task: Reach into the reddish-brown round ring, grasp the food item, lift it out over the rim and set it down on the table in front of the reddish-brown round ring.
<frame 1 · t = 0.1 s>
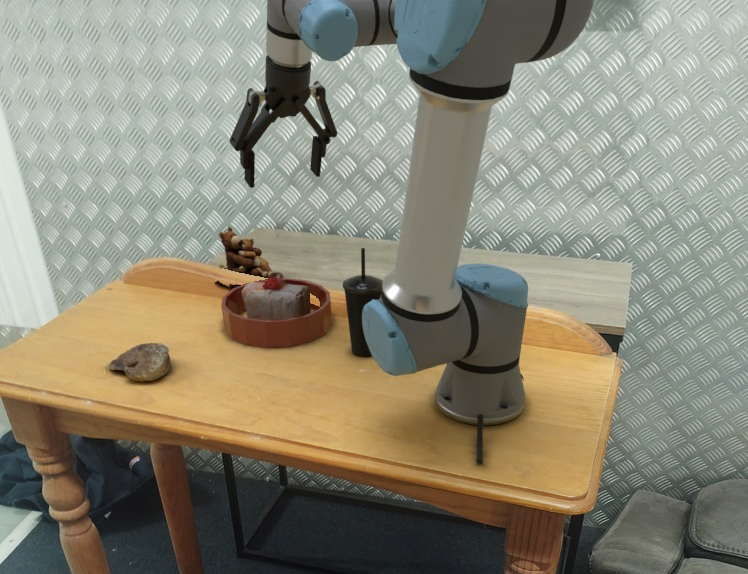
hand: (282, 178, 135), 28 cm above the table, tool tilted 20°, fingers open, 13 cm apart
reddish-brown round ring: (278, 323, 149), on the table
bear figurine: (248, 281, 168), on the table
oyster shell: (140, 371, 134), on the table
food item: (278, 324, 149), resting in reddish-brown round ring
drinking cup: (364, 352, 139), on the table
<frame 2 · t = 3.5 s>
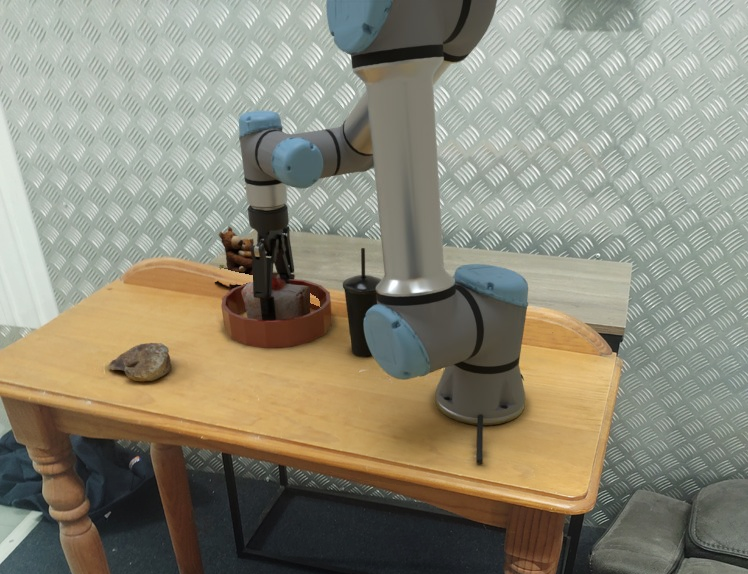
hand: (278, 318, 148), 1 cm above the table, tool pointing down, fingers closed on food item, 8 cm apart
food item: (278, 324, 149), resting in reddish-brown round ring, touching gripper
everything else where it was.
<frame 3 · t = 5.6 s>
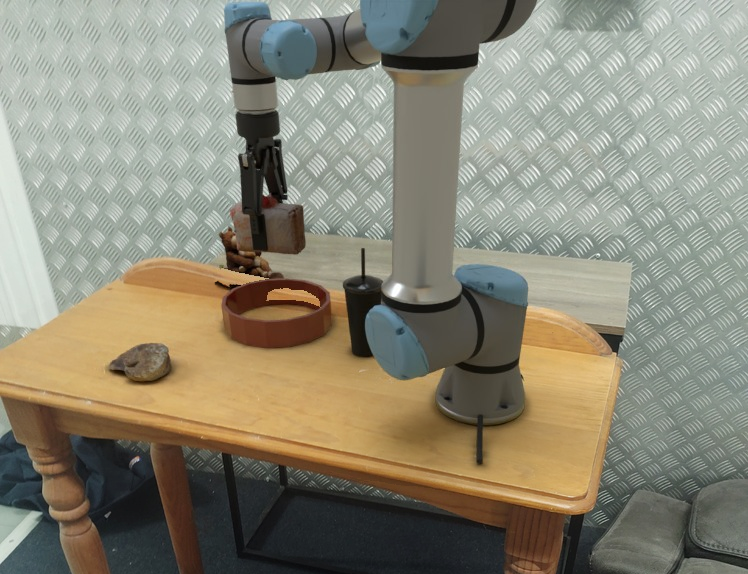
hand: (269, 242, 138), 17 cm above the table, tool pointing down, fingers closed on food item, 8 cm apart
food item: (270, 249, 139), point 16 cm above the table, touching gripper
everything else where it was.
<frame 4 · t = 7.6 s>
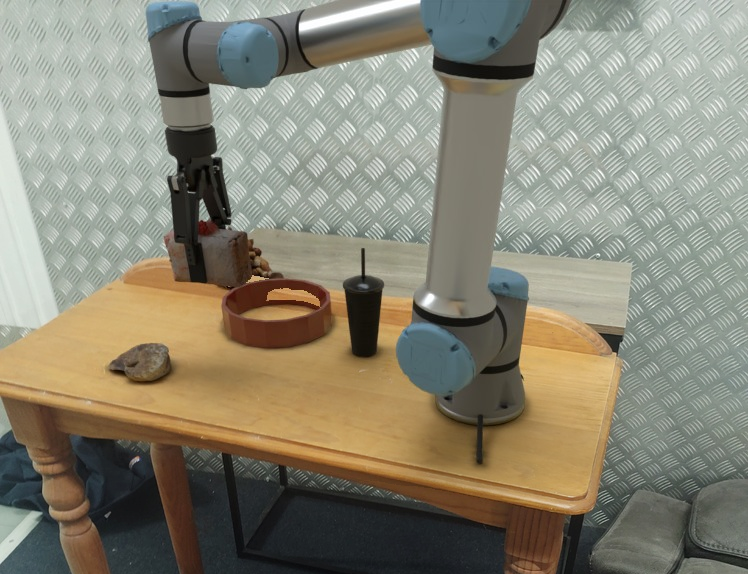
hand: (211, 272, 122), 18 cm above the table, tool pointing down, fingers closed on food item, 8 cm apart
food item: (212, 280, 123), point 17 cm above the table, touching gripper
everything else where it was.
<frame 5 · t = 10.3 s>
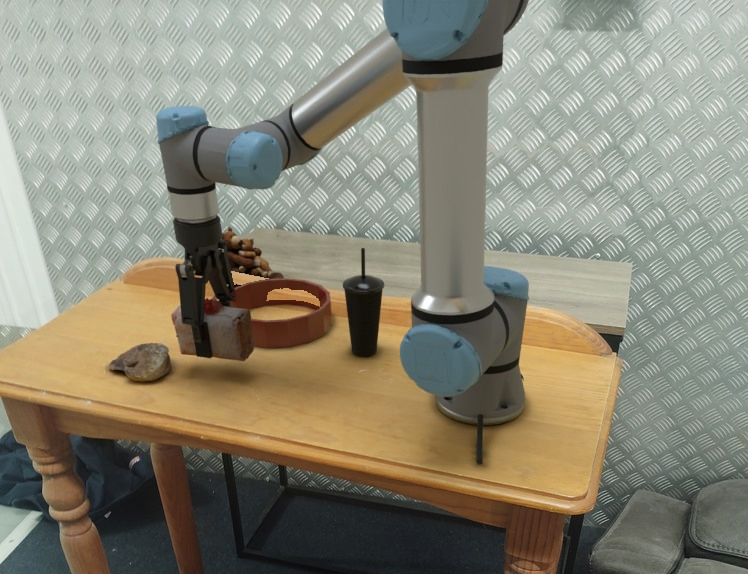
hand: (215, 345, 129), 6 cm above the table, tool pointing down, fingers closed on food item, 8 cm apart
food item: (216, 352, 130), point 4 cm above the table, touching gripper
everything else where it was.
when the fingers open (1 cm above the table, at t = 11.9 s): food item stays where it is, on the table.
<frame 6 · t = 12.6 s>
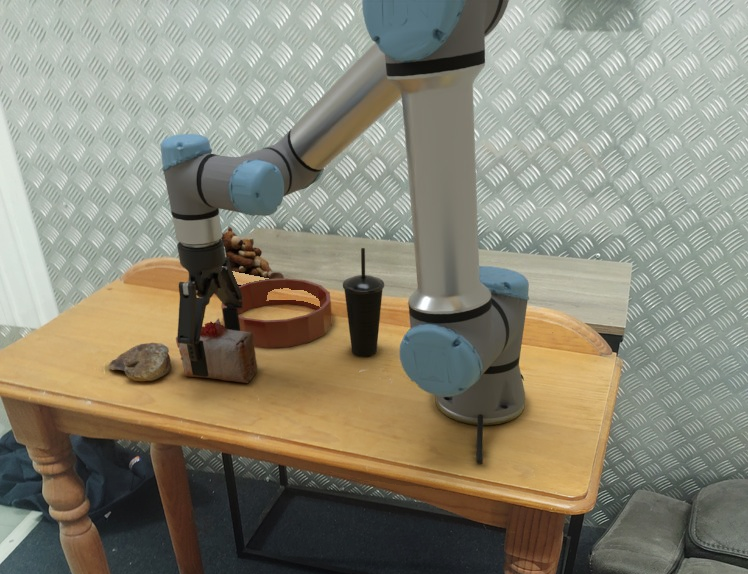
hand: (218, 357, 130), 3 cm above the table, tool pointing down, fingers open, 13 cm apart
food item: (220, 374, 133), on the table
everything else where it was.
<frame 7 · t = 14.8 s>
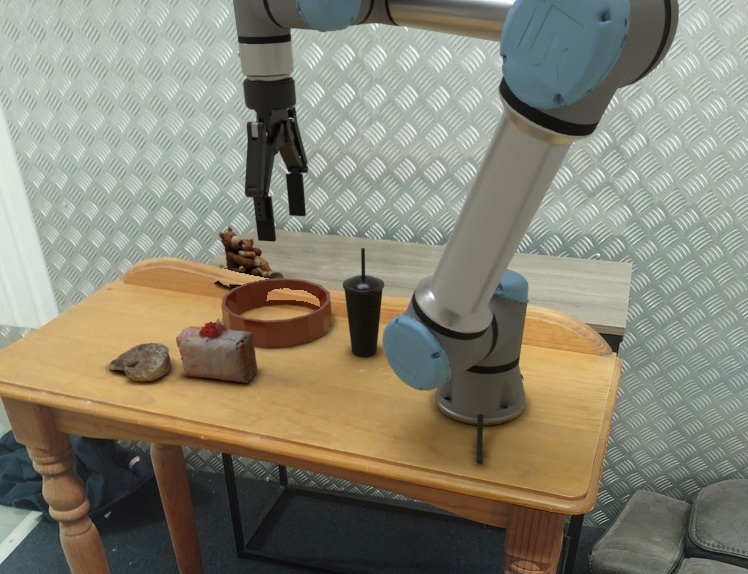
hand: (283, 227, 116), 26 cm above the table, tool pointing down, fingers open, 13 cm apart
nothing on the table moved.
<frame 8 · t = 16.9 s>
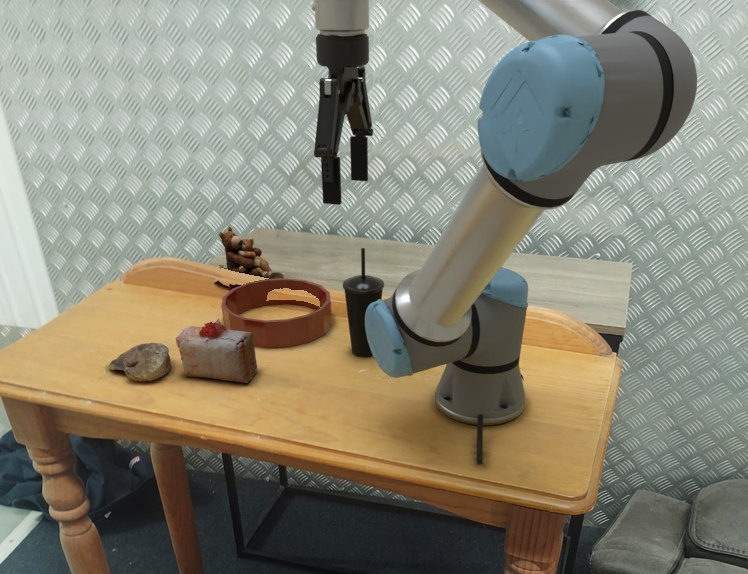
hand: (346, 191, 113), 32 cm above the table, tool pointing down, fingers open, 13 cm apart
nothing on the table moved.
at the end: food item inside the target area (0.1 cm from its centre), on the table; food item touching table; the gripper is holding nothing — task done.
